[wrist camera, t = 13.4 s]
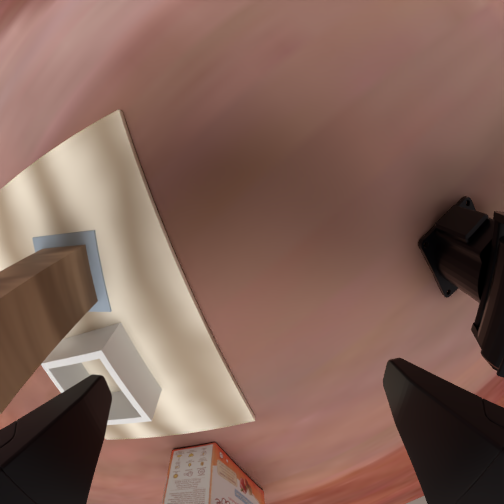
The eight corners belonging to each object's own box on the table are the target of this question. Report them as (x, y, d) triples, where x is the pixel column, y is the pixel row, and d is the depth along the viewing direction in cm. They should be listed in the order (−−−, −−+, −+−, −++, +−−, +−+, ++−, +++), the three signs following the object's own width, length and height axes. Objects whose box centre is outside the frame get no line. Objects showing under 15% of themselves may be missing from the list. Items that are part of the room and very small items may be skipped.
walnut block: (85, 244, 19) (-43, 330, 7) (97, 301, 20) (0, 414, 8) (42, 248, 19) (-77, 320, 7) (55, 300, 20) (-43, 393, 8)
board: (122, 110, 17) (117, 109, 17) (254, 416, 25) (255, 422, 24) (-21, 210, 19) (-26, 212, 18) (107, 436, 26) (105, 440, 26)
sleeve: (120, 322, 21) (101, 350, 17) (161, 389, 23) (151, 421, 19) (61, 339, 22) (40, 363, 18) (102, 398, 24) (88, 425, 20)
